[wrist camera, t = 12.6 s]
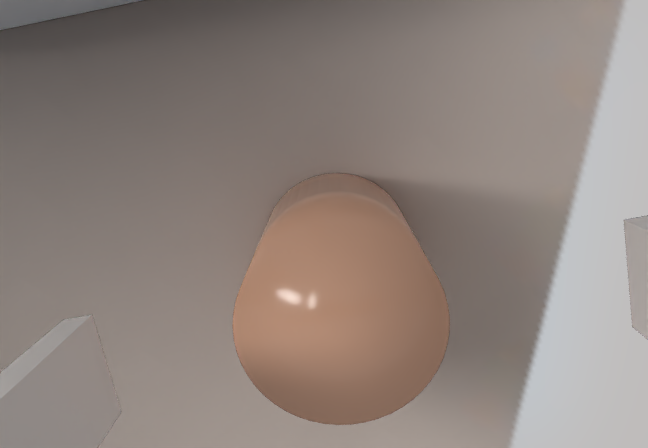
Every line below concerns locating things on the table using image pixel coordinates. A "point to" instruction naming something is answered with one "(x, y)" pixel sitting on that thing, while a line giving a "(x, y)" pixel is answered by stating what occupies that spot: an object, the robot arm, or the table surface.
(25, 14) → the tote
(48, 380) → the robot arm
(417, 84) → the table surface
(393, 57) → the table surface
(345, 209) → the peach rounded cylinder
